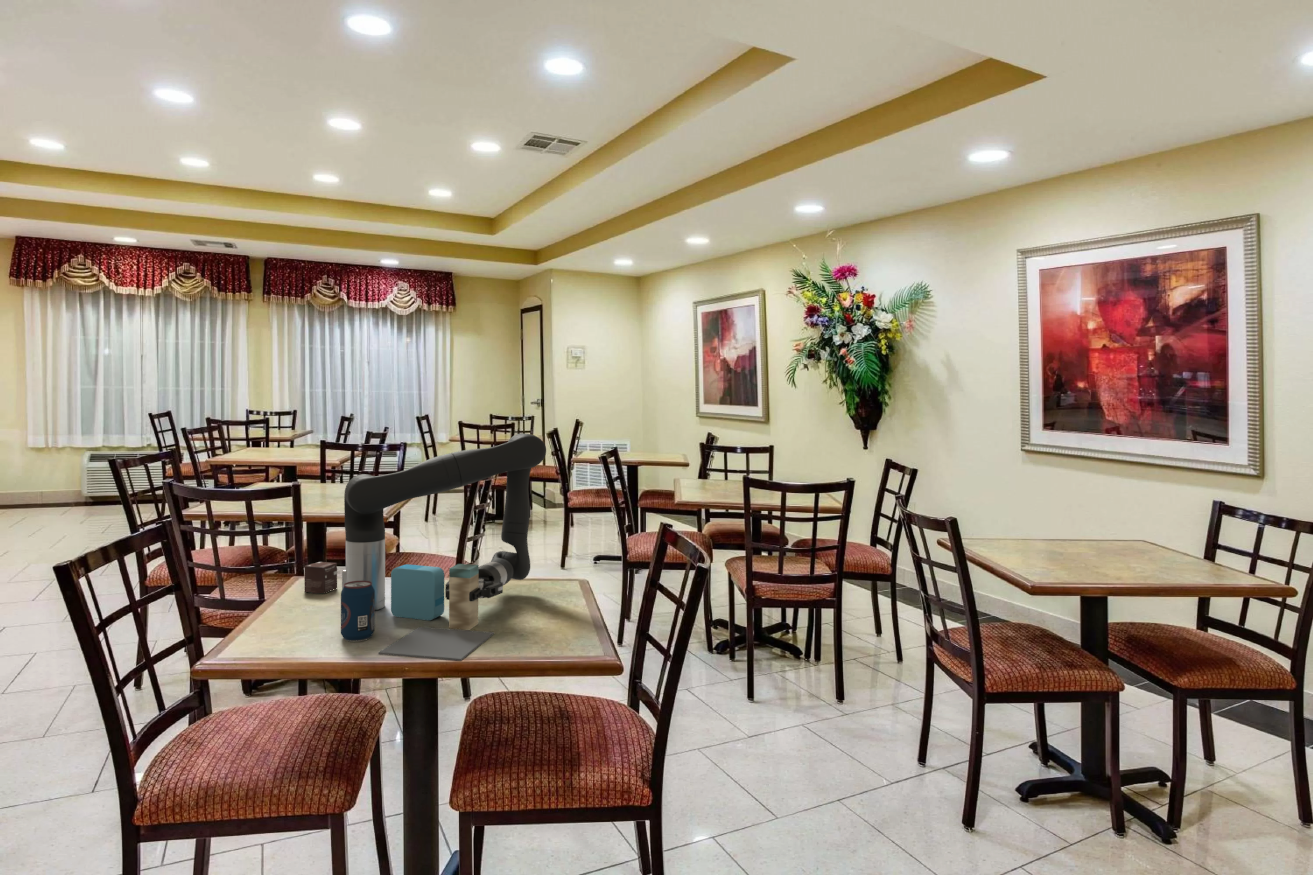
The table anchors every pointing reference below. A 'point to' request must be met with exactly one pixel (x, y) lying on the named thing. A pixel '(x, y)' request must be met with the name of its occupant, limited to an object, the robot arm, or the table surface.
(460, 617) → the birch block
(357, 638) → the soda can
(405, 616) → the data package
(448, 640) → the rubber mat
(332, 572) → the box
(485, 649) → the table surface
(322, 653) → the table surface
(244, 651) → the table surface
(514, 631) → the table surface
